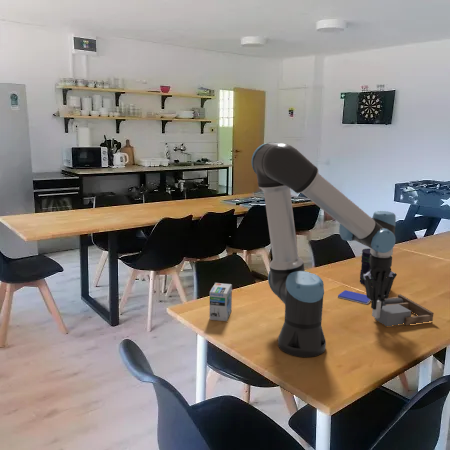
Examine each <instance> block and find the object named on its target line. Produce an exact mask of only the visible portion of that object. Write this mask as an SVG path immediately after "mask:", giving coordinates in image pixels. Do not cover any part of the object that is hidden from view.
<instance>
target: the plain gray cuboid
mask: <svg viewBox="0 0 450 450" xmlns="http://www.w3.org/2000/svg"><path fill="white" fill-rule="evenodd" d="M405 317H412V313H411V311H410V310H408V309H407V308H405V307H403V306H401V305H399V304H394V305H386V306H382V309H381V310H380V318H378V319H376V318H375V317H374V320H375V319H376V320H375V321H377V322H378V321H379V322H378V323H380V324H381V323H382V324H381V325H383V324H384V325H385V326H384V325H383V326H384V327H386V326H391V327H393V326H392V325H398V324H403V323H404V322H405ZM398 326H399V325H398Z"/></svg>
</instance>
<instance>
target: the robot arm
mask: <svg viewBox="0 0 450 450" xmlns="http://www.w3.org/2000/svg"><path fill="white" fill-rule="evenodd" d="M251 167H252V169H253V171H254V174H256V180H257V185H258V186H257V187H258V188H259V190H262V191H263V195H264V203H265V212H266V217H267V218H266V219H267V225H268V233H269V239H270V240H269V242H270V246H271V254H272V255H271V256H272V260H271V261H270V262H269V264H268V265H269V271H268V275H267V282H268V285H269V288H270V289H271V291H272V292H273V294H274V295H275V296H277V298H279V300H280V301H281V302H282V303H283V304H284V305H285V306H284V322H283V325H282V327H281V328H280V329H281V330H280V332H279V334H278V338H277V347H278V348H279V349H280V350H281V351H282V352H284V353H285V354H288V355H290V356H294V357H299V358H314V357H318V356H320V355H322V354H323V353H325V351H326V347H327V346H326V345H327V342H326V341H327V340H326V338H325V334H324V330H323V325H322V320H323V318H322V317H323V306H324V304H323V303H324V296H325V295H324V294H325V285H324V281H323V279H322V278H321V277H320V276H319V275H317V274H316V273H311V272H309V271H305V263H304V260H303V258H301V257H300V256H299V253H298V242H297V235H296V227H295V220H294V219H295V218H294V211H293V203H292V195H291V190H292V191H293V192H295V193H296V194H302V195H303V196H305V197H306V198H308V200H310V201H311V202H313V203H314V204H315V205H316V206H317V207H319V208H320V209H321V210H323V211H324V212H325V213H326V214H327V215H329V217H331V218H332V219H334V220H335V221H336V222H337V223H339V226H338V227H339V230H338V231H339V236H340V238H341V239H342V240H343V241H348V242H353V241H355V242H358V243H359V244H360V245H364V246H366V247H367V248H368V249H370V253H371V255H370V262H369V263H370V268H369V270H368V273H366V274H363V275H362V277H363V278H364V281H365V285H364V287H365V293H366V294H365V295H367V298H368V299H370V300H372V301H371V302H370V304H371V305H370V308H371V309H372V311H371V316H372V317H373V318H374V319H375V318H376V319H378V318H380V310H381V309H382V306H383V302H384V301H385V300H384V299H388V298H390V297H389V296H390V293H391V289H392V287H393V284H394V280H395V279H396V277H397V273H396V272H394V271H393V270H392V268H391V267H392V264H393V254H394V247H395V245H396V239H397V238H396V235H395V232H396V227H397V225H396V221H397V220H396V219H397V218H396V214H395V213H394V212H391V211H386V210H384V211H383V210H380V211H379V210H377V211H374V212H373V216H372V217H371V216H370V215H369V214H367V213H366V212H365V211H364V210H363V209H362V208H360V207H359V206H358V205H357V204H356V203H354V202H353V201H352V200H351V199H349V198H348V196H346V195H345V194H343V193H342V191H340V190H339V189H338V188H337V187H335V186H334V185H333V184H332V183H331V182H329V181H328V180H327V179H326V178H324V177H323V176H322V175H321V174H320V173H319V168H318V167H317V166H315V164H313V162H311V161H310V160H309V159H308V158H306V156H304V154H303V153H301V152H300V151H299V150H298V149H297V148H296V147H294V146H292V145H289V144H287V143H280V142H279V143H278V142H275V141H271V142H266V143H263V144H260V145H259V146H258V147H257V148H256V149H255V150H254V151H253V154H252V156H251ZM370 276H371V277H372V284H371V280H370V279H371V277H370Z"/></svg>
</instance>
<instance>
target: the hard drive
mask: <svg viewBox="0 0 450 450" xmlns="http://www.w3.org/2000/svg"><path fill="white" fill-rule="evenodd" d="M337 298H339V299H344V300H346V301H352V302H355V303H359V304H364V305H368V304H370V303H371V302H372V300H370V299H368V298H367V295H366V294H363V293H360V292H355V291H350V290H348V289H347V290H346V289H344V290H343V291H341V292H340V293H339V294H338V295H337ZM370 301H371V302H370Z"/></svg>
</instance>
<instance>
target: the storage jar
mask: <svg viewBox="0 0 450 450" xmlns="http://www.w3.org/2000/svg"><path fill="white" fill-rule="evenodd" d="M370 249H371V248H364V249H361V250H362V251H361V257H360V258H361V259H360V261H361V266H360V267H361V269H360V273H359V284H361V285H363V286H365V281H364V278H363V277H362V275H363V274H366V273H368V270H369V268H370V263H369V262H370V255H371V253H370ZM370 277H371V276H370ZM370 280H371V284H372V277H371V279H370Z"/></svg>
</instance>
